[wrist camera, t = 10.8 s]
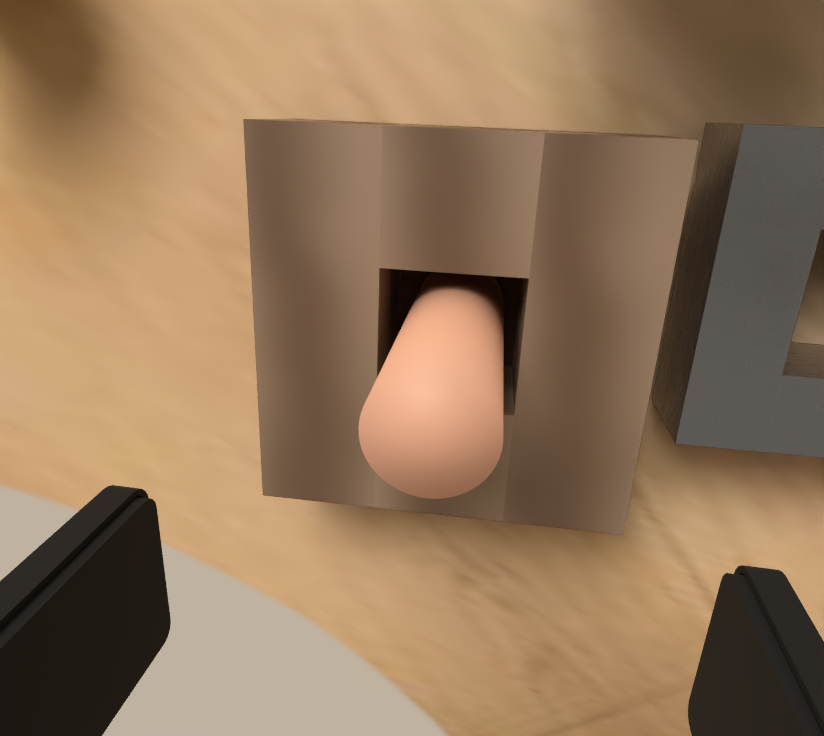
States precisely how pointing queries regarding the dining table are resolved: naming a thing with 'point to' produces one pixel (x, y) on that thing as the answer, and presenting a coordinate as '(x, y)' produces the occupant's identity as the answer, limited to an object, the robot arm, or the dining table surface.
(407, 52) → the dining table surface
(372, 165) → the socket block
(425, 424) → the pin
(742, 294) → the pin mount
